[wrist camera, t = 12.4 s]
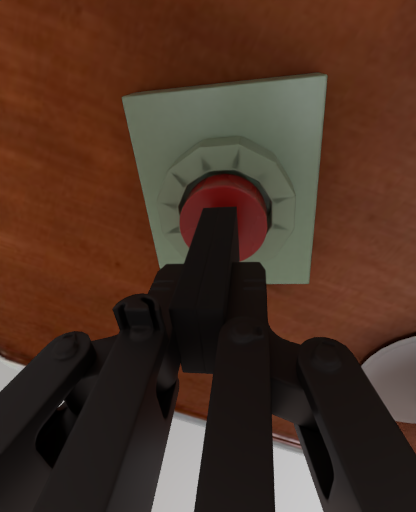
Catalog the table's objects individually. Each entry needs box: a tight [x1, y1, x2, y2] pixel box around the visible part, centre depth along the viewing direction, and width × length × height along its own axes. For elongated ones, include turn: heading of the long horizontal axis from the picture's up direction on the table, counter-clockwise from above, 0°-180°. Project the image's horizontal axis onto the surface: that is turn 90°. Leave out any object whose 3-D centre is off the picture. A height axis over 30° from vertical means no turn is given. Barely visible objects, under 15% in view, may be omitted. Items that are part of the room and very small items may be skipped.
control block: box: [122, 72, 328, 284], centre depth 18 cm, size 12×10×4 cm
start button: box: [179, 174, 267, 262], centre depth 16 cm, size 4×4×2 cm
